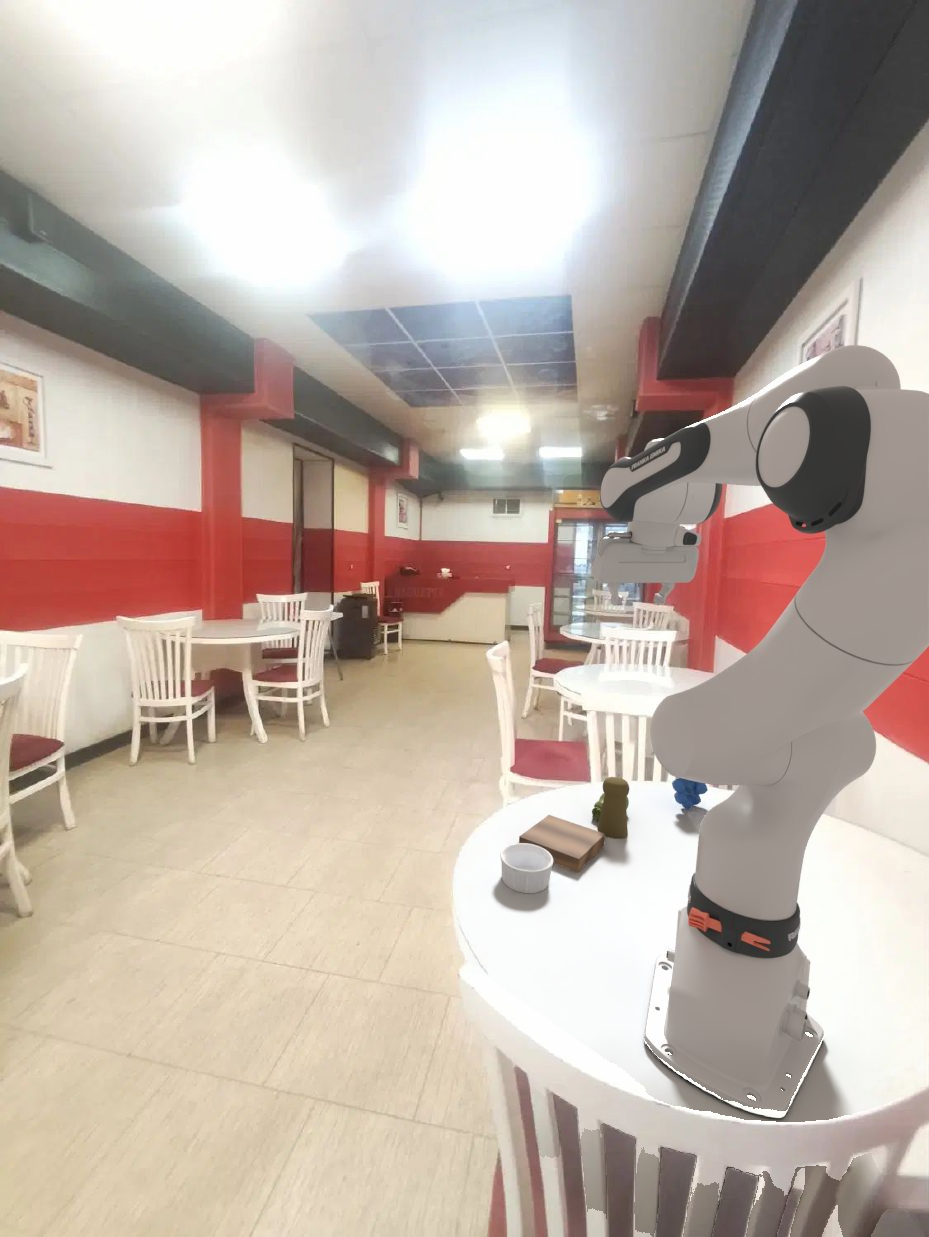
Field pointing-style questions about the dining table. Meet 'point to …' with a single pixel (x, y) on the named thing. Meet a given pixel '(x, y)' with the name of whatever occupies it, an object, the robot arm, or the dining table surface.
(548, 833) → the walnut block
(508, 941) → the dining table surface
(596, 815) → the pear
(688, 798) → the grapes
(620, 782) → the pepper mill
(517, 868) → the ramekin
